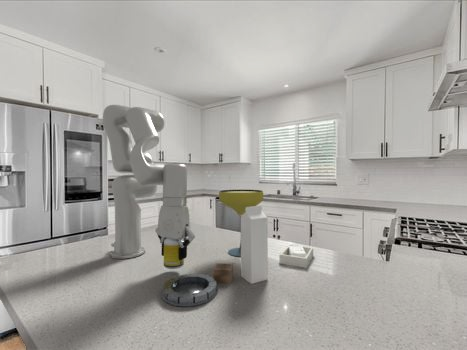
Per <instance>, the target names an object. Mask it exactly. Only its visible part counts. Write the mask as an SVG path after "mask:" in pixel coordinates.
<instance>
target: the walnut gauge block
mask: <svg viewBox="0 0 467 350" xmlns="http://www.w3.org/2000/svg"><path fill="white" fill-rule="evenodd" d="M233 266H234V265H233V263H222V262H221V263H217V262H216V265H215V266H214V268H213V278H214V279H215V280H216V284H231V283H232V280H233V276H234V273H233V272H234V267H233Z"/></svg>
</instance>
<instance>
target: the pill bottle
mask: <svg viewBox="0 0 467 350" xmlns="http://www.w3.org/2000/svg"><path fill="white" fill-rule="evenodd" d="M182 240H183V239H182ZM183 242H184V240H183ZM179 248H180V244H179V240H176V239H171V238H166V239H165V240H164V256H163V266H164V268H165V269H168V270H177V269H180V268H182V267H183V266H184V265H185V258H184V259H182V260H179Z"/></svg>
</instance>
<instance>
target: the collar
mask: <svg viewBox="0 0 467 350" xmlns="http://www.w3.org/2000/svg"><path fill="white" fill-rule="evenodd" d="M161 293H162V297H161V298H162V301H164V303H166V304H168V305H170V306H173V307H176V308H177V307H178V308H192V307H197V306H201V305H204V304H207V303H209V302H210V301H212V300H213V299H215V297H216V296H217V294H218V286H217V283H216V280H215V279H214V277H213V276H210V275H209V274H208V275H207V274H203V273H188V274H187V273H186V274H182V275H181V274H180V275H177V276H175V277H172V278H170V279H168V280H167V281H166V282H165V283H164V284H163V287H162V292H161Z"/></svg>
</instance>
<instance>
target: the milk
mask: <svg viewBox="0 0 467 350" xmlns="http://www.w3.org/2000/svg"><path fill="white" fill-rule="evenodd" d="M262 209H263V207H262V205H256V206H253V207H246V212H245V213H244V214H243V215H242V216H240V240H241V257H240V277H241V278H243V279H244V280H246V281H247V282H248V283H249V284H251V285H253V284H257V283H260V282H264V281H267V280H268V279H269V267H268V265H269V260H268V259H269V258H268V257H269V253H268V252H269V251H268V249H269V248H268V245H269V244H268V243H269V242H268V237H269V236H268V233H269V232H268V227H269V226H268V216H267V215H266V214H265V212H264V211H263V210H262Z"/></svg>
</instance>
